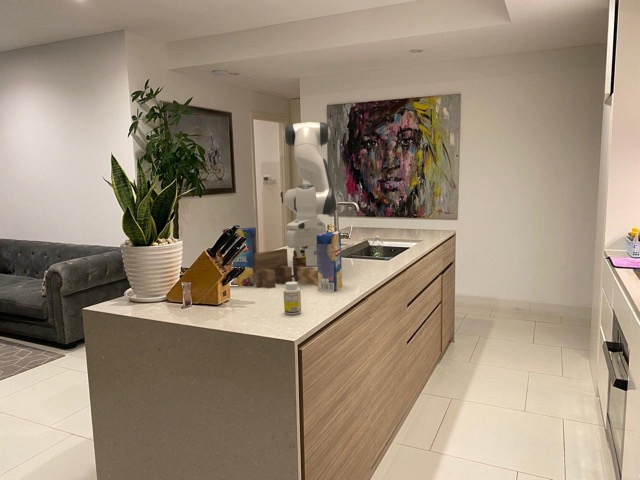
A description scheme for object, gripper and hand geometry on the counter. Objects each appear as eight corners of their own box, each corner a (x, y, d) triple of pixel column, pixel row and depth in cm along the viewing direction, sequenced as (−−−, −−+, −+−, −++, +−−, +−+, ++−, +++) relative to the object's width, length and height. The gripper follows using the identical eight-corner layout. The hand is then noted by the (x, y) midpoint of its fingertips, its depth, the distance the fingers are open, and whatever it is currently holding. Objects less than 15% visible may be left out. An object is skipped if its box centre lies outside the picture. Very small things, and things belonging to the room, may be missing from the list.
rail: (327, 284, 204) (326, 269, 204) (320, 286, 202) (319, 271, 201) (301, 279, 216) (301, 265, 215) (294, 280, 213) (293, 266, 213)
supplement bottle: (292, 309, 167) (291, 280, 166) (304, 312, 164) (303, 282, 162) (280, 313, 163) (279, 283, 162) (293, 316, 160) (291, 285, 158)
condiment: (310, 276, 222) (309, 250, 220) (294, 279, 217) (293, 252, 216) (302, 274, 228) (301, 248, 226) (286, 276, 223) (284, 250, 222)
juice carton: (258, 282, 212) (255, 227, 209) (253, 286, 205) (250, 229, 201) (232, 282, 214) (228, 227, 211) (226, 286, 207) (222, 229, 203)
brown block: (295, 282, 210) (294, 250, 208) (265, 289, 199) (264, 255, 197) (285, 280, 215) (284, 248, 213) (255, 286, 204) (253, 253, 202)
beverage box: (342, 285, 201) (340, 232, 198) (335, 291, 191) (333, 235, 188) (326, 284, 203) (324, 232, 200) (318, 291, 193) (316, 235, 190)
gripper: (320, 221, 215) (321, 252, 217) (283, 225, 202) (285, 258, 203) (330, 221, 211) (331, 253, 212) (293, 225, 197) (294, 259, 198)
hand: (308, 256), depth 208 cm, fingers open, 8 cm apart
